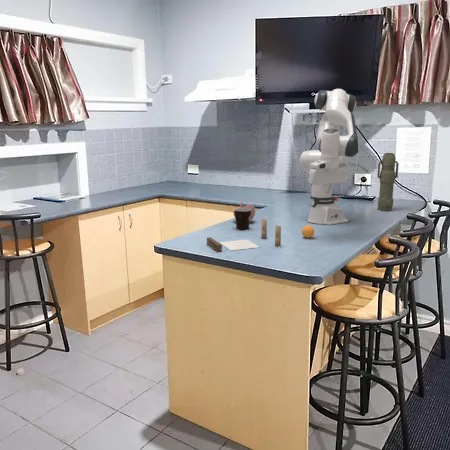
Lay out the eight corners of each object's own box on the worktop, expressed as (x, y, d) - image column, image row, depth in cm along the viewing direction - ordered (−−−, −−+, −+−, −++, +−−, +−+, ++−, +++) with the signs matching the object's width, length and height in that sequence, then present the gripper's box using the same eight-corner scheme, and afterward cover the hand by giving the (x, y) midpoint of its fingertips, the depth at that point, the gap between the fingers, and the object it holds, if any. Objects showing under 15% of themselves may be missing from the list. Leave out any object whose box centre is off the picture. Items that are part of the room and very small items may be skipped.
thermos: (397, 211, 286) (402, 153, 278) (378, 211, 285) (382, 153, 277) (391, 208, 295) (395, 152, 287) (373, 208, 294) (377, 152, 286)
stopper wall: (210, 243, 214) (210, 237, 213) (221, 251, 201) (221, 244, 201) (206, 244, 213) (206, 237, 213) (217, 252, 201) (217, 245, 200)
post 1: (265, 237, 225) (265, 219, 223) (267, 238, 223) (268, 220, 221) (260, 237, 224) (260, 219, 222) (262, 238, 222) (263, 220, 220)
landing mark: (246, 239, 220) (246, 239, 220) (259, 247, 208) (259, 247, 208) (219, 242, 215) (219, 242, 215) (230, 250, 203) (230, 250, 203)
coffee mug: (241, 225, 249) (241, 207, 246) (254, 228, 243) (254, 209, 241) (227, 229, 240) (227, 210, 238) (240, 232, 235) (240, 212, 232)
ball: (310, 235, 228) (310, 223, 227) (316, 238, 223) (317, 226, 221) (299, 236, 226) (299, 224, 225) (305, 239, 221) (306, 227, 219)
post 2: (278, 244, 213) (279, 225, 210) (281, 245, 210) (282, 226, 208) (273, 245, 212) (274, 225, 210) (276, 246, 209) (277, 227, 207)
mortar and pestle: (242, 218, 265) (242, 199, 263) (259, 221, 258) (259, 201, 255) (228, 222, 256) (228, 202, 254) (246, 225, 249) (246, 204, 246)
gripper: (343, 162, 227) (342, 190, 230) (307, 164, 219) (306, 193, 222) (351, 163, 221) (349, 192, 224) (314, 165, 214) (313, 195, 217)
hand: (327, 193), depth 223 cm, fingers closed
